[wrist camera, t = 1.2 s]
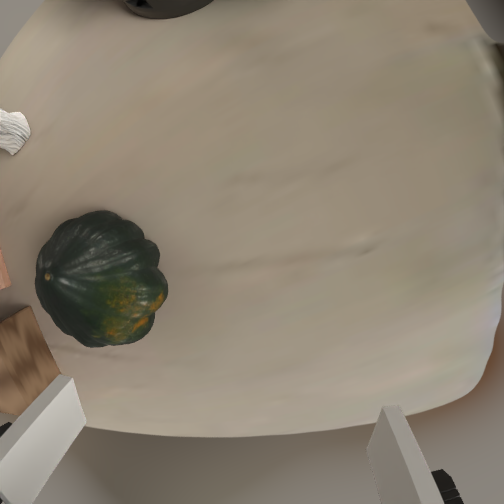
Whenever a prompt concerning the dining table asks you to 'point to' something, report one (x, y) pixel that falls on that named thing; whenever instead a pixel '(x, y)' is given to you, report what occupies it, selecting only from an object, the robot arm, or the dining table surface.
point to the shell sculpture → (13, 131)
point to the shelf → (23, 362)
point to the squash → (100, 280)
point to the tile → (3, 274)
